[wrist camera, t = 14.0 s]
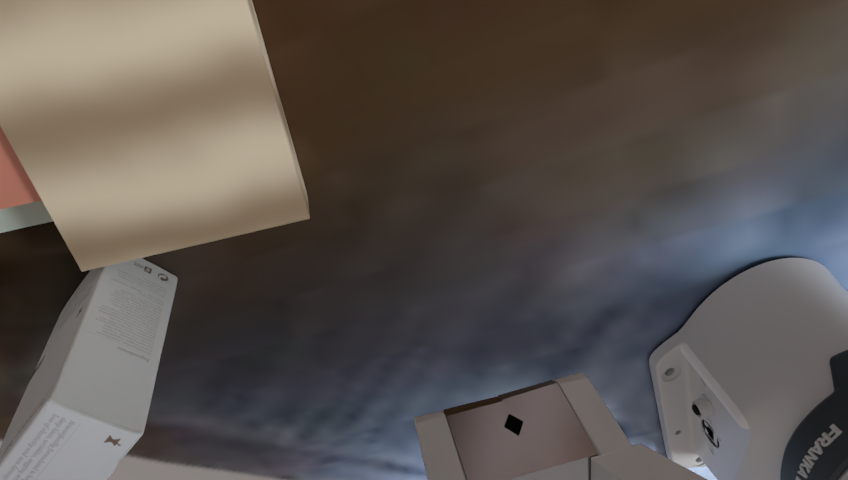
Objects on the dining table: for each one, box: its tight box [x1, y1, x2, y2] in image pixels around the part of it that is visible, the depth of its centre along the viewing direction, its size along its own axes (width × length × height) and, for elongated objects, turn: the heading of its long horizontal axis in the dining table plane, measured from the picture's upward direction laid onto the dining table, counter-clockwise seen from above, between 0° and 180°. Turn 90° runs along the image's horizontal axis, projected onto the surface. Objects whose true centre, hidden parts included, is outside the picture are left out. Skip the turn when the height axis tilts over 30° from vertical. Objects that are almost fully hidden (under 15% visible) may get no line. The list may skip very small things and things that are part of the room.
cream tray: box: [0, 0, 310, 272], centre depth 29 cm, size 14×12×3 cm
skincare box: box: [0, 258, 178, 480], centre depth 30 cm, size 6×4×12 cm
